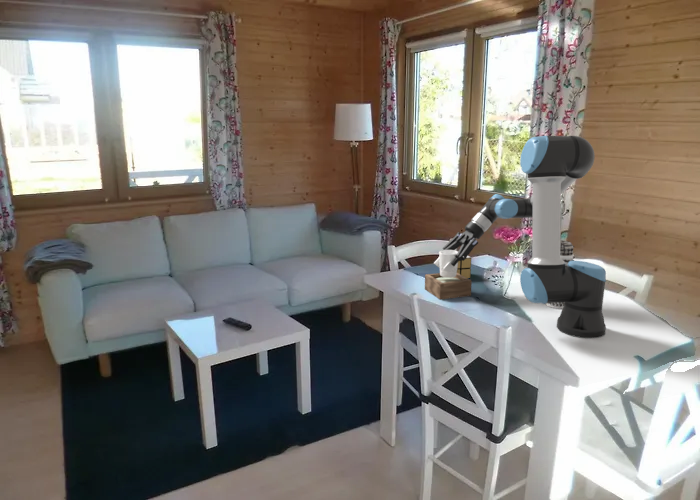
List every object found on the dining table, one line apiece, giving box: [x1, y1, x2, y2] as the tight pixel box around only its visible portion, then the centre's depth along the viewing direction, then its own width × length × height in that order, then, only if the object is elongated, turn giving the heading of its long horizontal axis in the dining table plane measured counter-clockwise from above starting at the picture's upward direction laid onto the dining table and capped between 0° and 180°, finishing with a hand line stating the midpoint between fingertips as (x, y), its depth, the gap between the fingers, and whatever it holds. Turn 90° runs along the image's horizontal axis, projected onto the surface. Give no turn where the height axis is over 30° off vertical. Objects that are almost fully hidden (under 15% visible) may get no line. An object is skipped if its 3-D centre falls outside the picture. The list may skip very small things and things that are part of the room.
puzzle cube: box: [457, 255, 472, 279], centre depth 237 cm, size 10×10×10 cm
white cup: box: [438, 249, 459, 278], centre depth 212 cm, size 8×8×10 cm
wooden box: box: [424, 272, 473, 300], centre depth 214 cm, size 14×14×6 cm
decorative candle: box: [545, 239, 575, 310], centre depth 197 cm, size 9×9×25 cm
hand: (440, 267), depth 212 cm, fingers closed on white cup, 8 cm apart
